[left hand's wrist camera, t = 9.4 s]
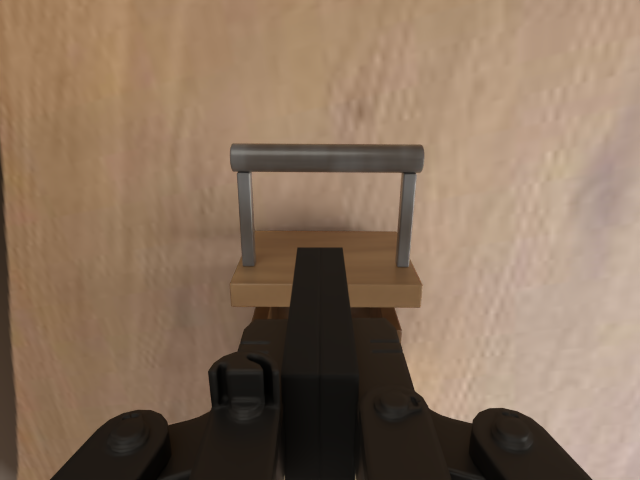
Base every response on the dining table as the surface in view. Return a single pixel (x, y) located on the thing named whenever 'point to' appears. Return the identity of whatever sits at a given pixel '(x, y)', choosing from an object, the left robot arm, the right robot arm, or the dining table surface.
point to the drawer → (327, 232)
